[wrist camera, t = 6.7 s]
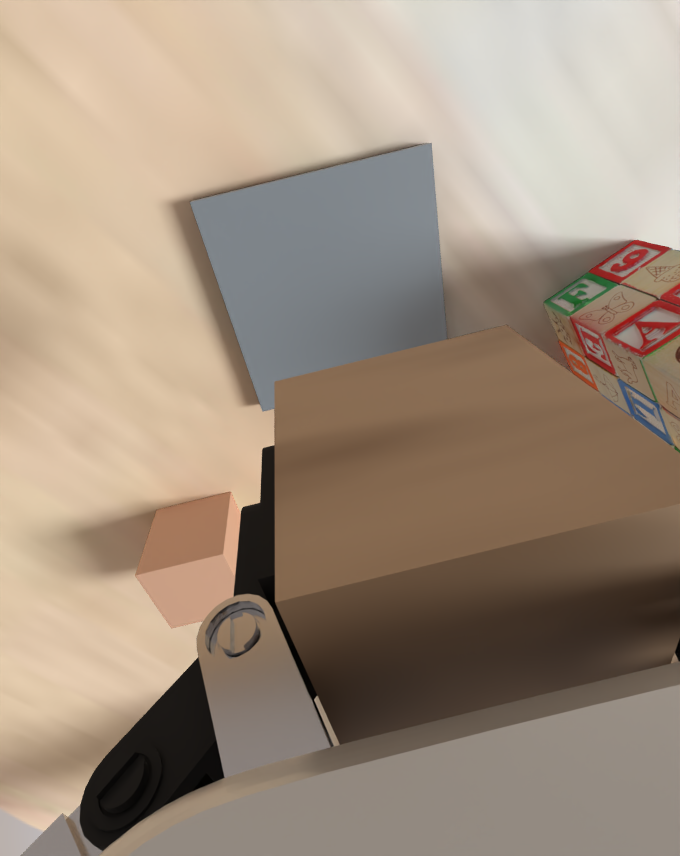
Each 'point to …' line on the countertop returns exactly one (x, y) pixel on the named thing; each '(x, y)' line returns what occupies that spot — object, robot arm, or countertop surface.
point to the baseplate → (329, 265)
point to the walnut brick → (468, 532)
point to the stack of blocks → (627, 333)
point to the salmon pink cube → (191, 558)
